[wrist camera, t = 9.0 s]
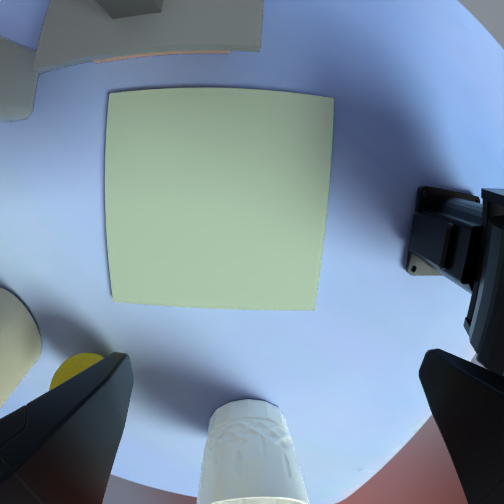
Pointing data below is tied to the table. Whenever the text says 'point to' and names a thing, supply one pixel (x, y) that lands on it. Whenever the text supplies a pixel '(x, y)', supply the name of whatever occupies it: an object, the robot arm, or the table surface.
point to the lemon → (73, 367)
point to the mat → (217, 197)
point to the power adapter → (16, 81)
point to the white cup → (250, 457)
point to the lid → (144, 29)
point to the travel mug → (16, 343)
